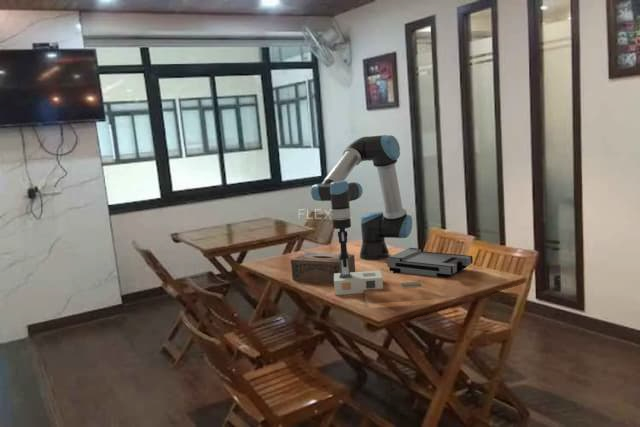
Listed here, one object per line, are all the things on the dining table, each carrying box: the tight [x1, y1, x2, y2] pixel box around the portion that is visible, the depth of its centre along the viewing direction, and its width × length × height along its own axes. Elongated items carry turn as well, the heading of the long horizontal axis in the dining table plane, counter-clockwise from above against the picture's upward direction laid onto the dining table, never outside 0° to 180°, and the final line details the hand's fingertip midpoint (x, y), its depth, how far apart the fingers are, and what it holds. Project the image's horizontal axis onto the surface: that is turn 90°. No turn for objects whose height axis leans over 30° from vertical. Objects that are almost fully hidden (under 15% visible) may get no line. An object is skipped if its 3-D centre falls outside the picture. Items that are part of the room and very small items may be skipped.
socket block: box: [333, 269, 384, 296], centre depth 236 cm, size 12×20×6 cm, turn 89°
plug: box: [338, 251, 350, 278], centre depth 235 cm, size 4×4×13 cm
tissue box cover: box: [290, 252, 356, 284], centre depth 259 cm, size 26×14×10 cm, turn 61°
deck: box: [400, 281, 423, 289], centre depth 231 cm, size 8×8×2 cm
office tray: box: [386, 247, 474, 279], centre depth 253 cm, size 21×32×8 cm, turn 50°
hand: (345, 272), depth 235 cm, fingers closed on plug, 4 cm apart
